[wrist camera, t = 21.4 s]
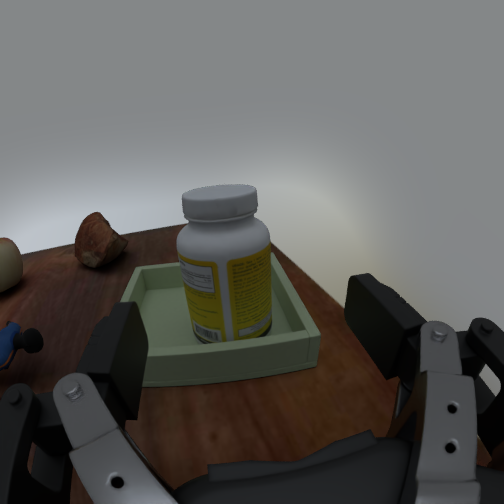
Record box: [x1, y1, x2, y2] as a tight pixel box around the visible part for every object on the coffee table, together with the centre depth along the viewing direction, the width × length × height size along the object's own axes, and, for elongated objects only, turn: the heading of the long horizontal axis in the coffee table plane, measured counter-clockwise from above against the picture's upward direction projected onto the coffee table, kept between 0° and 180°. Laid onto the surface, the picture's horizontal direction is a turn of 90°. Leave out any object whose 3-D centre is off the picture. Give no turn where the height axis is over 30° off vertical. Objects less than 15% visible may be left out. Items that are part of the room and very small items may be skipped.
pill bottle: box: [177, 185, 272, 345], centre depth 19 cm, size 6×6×11 cm
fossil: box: [75, 212, 128, 268], centre depth 36 cm, size 13×8×10 cm
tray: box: [120, 253, 321, 387], centre depth 22 cm, size 15×14×3 cm
